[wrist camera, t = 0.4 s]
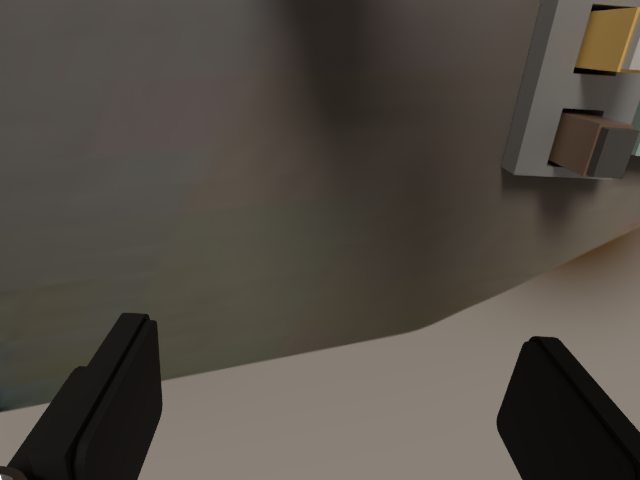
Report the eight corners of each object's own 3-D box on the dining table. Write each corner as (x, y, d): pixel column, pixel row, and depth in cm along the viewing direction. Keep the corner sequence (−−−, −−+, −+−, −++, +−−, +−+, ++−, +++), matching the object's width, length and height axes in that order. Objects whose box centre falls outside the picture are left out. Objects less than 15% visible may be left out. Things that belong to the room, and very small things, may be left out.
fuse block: (543, -10, 39) (562, -13, 36) (650, -1, 39) (676, -4, 37) (501, 166, 45) (513, 174, 43) (593, 171, 46) (611, 179, 43)
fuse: (576, 12, 40) (647, 6, 32) (607, 14, 40) (686, 9, 32) (561, 65, 42) (625, 72, 33) (591, 67, 42) (662, 75, 34)
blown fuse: (549, 109, 43) (607, 125, 35) (578, 110, 43) (643, 128, 35) (537, 154, 45) (589, 179, 37) (565, 155, 45) (623, 181, 37)
